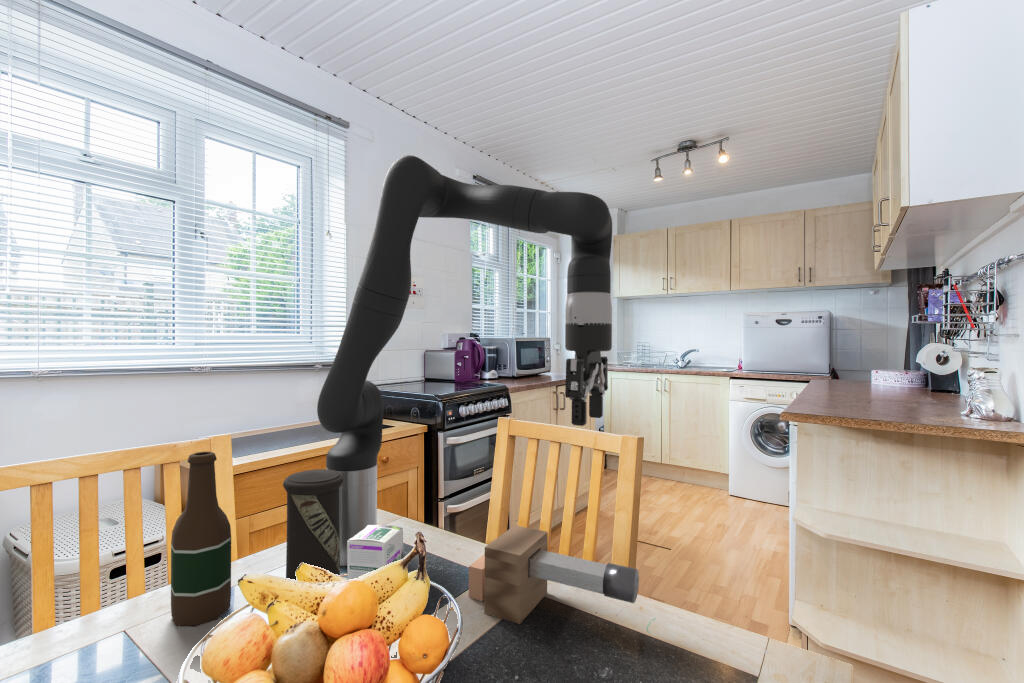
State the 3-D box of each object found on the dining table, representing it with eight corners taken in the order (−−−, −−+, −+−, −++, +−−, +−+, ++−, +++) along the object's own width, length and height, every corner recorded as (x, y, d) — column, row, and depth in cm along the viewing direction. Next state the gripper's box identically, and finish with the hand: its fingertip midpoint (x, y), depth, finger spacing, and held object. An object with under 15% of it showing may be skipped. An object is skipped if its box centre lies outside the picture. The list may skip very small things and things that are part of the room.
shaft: (499, 575, 76) (499, 546, 76) (512, 563, 80) (512, 536, 80) (631, 609, 67) (631, 576, 67) (638, 594, 70) (638, 563, 70)
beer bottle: (242, 607, 75) (243, 450, 75) (191, 634, 68) (192, 461, 68) (210, 595, 79) (210, 445, 78) (157, 620, 71) (158, 456, 71)
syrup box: (386, 652, 65) (387, 542, 65) (345, 646, 66) (346, 538, 66) (404, 627, 70) (405, 526, 70) (366, 622, 71) (367, 522, 71)
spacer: (482, 601, 78) (468, 597, 79) (497, 586, 82) (484, 583, 83) (482, 569, 78) (469, 566, 79) (497, 557, 82) (484, 554, 83)
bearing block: (484, 613, 74) (484, 547, 74) (514, 584, 83) (514, 525, 83) (519, 624, 71) (520, 555, 71) (547, 592, 80) (547, 531, 80)
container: (306, 619, 72) (307, 483, 72) (270, 602, 77) (271, 474, 77) (354, 593, 79) (354, 470, 79) (318, 579, 84) (319, 462, 84)
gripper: (581, 323, 88) (580, 413, 88) (550, 320, 75) (549, 425, 75) (622, 323, 85) (621, 417, 85) (597, 319, 72) (596, 430, 72)
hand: (587, 421), depth 80 cm, fingers open, 8 cm apart
